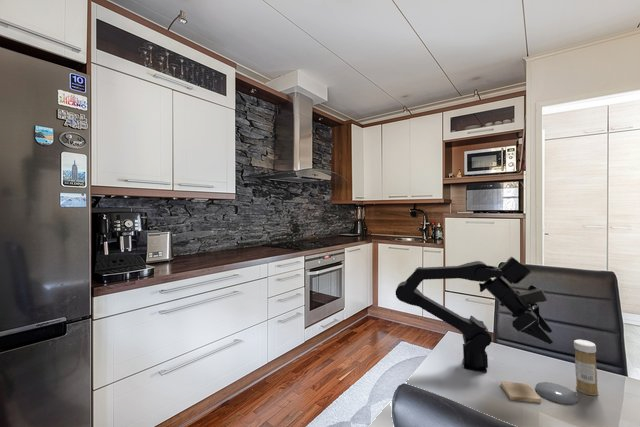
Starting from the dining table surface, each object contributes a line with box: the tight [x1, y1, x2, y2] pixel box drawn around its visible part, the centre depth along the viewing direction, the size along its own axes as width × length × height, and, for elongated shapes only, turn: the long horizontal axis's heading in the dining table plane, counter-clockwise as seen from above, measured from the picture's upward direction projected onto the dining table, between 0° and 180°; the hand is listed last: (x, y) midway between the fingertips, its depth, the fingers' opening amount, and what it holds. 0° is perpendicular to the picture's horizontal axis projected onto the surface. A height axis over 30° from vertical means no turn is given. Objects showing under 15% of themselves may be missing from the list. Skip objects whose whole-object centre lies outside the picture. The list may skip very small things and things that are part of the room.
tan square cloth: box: [500, 381, 542, 404], centre depth 80 cm, size 7×7×1 cm
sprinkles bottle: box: [573, 339, 599, 397], centre depth 80 cm, size 5×5×14 cm
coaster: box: [535, 381, 579, 405], centre depth 79 cm, size 9×9×1 cm
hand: (551, 337), depth 84 cm, fingers open, 9 cm apart
